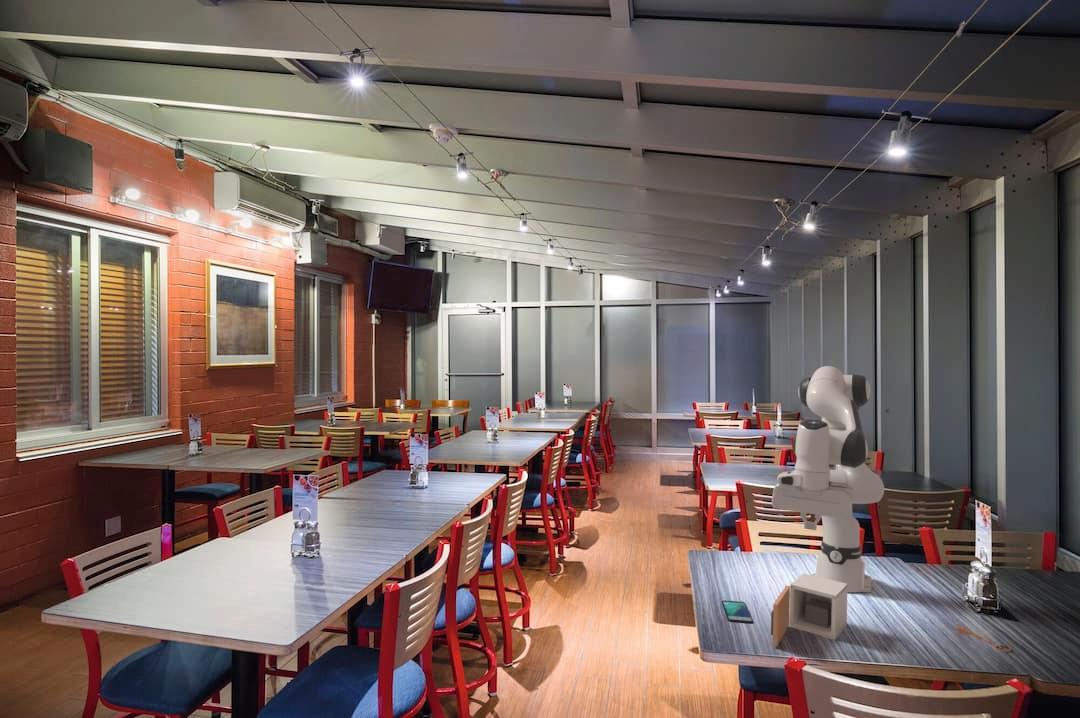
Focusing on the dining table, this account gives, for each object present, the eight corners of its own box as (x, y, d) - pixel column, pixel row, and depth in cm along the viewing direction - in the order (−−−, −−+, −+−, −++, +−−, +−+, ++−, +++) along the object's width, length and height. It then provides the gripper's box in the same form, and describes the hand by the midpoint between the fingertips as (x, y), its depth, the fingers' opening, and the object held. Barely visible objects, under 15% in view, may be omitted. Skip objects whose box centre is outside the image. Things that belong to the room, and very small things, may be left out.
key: (947, 630, 170) (996, 655, 156) (947, 627, 170) (996, 652, 156) (964, 627, 171) (1014, 652, 157) (964, 624, 171) (1014, 648, 157)
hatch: (789, 624, 169) (789, 586, 169) (776, 646, 156) (777, 604, 156) (783, 623, 170) (784, 585, 170) (770, 645, 157) (771, 603, 157)
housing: (802, 613, 178) (803, 573, 178) (846, 625, 170) (847, 583, 170) (789, 626, 169) (790, 584, 169) (835, 639, 161) (835, 595, 161)
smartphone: (728, 620, 171) (721, 599, 186) (728, 623, 171) (721, 602, 186) (754, 622, 170) (745, 601, 185) (754, 625, 170) (745, 604, 185)
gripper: (855, 482, 161) (853, 532, 161) (775, 472, 171) (773, 519, 172) (853, 487, 155) (851, 539, 156) (771, 476, 166) (769, 525, 167)
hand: (810, 528), depth 164 cm, fingers closed
